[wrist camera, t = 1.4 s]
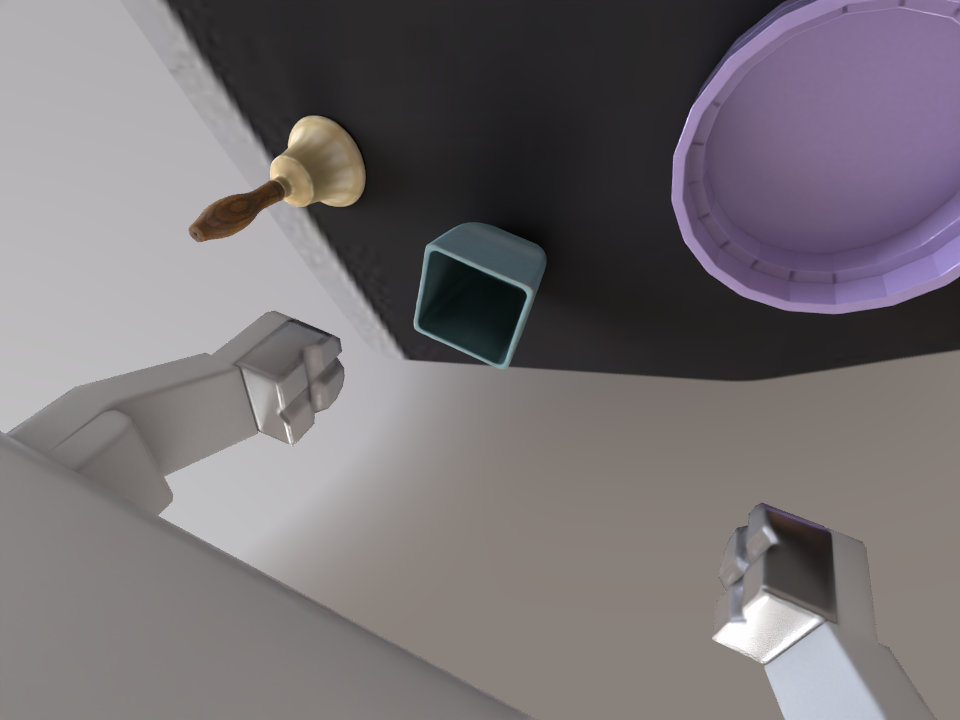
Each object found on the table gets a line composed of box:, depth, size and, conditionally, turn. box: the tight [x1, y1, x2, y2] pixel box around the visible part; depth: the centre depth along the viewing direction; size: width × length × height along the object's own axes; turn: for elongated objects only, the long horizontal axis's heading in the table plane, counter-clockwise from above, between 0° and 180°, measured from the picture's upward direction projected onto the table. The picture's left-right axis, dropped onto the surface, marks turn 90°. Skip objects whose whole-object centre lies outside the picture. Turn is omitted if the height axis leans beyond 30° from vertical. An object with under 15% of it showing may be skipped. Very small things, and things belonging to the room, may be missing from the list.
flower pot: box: [414, 222, 547, 370], centre depth 45 cm, size 9×9×9 cm
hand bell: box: [189, 115, 366, 242], centre depth 44 cm, size 8×8×16 cm
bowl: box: [671, 0, 960, 314], centre depth 31 cm, size 17×17×6 cm
